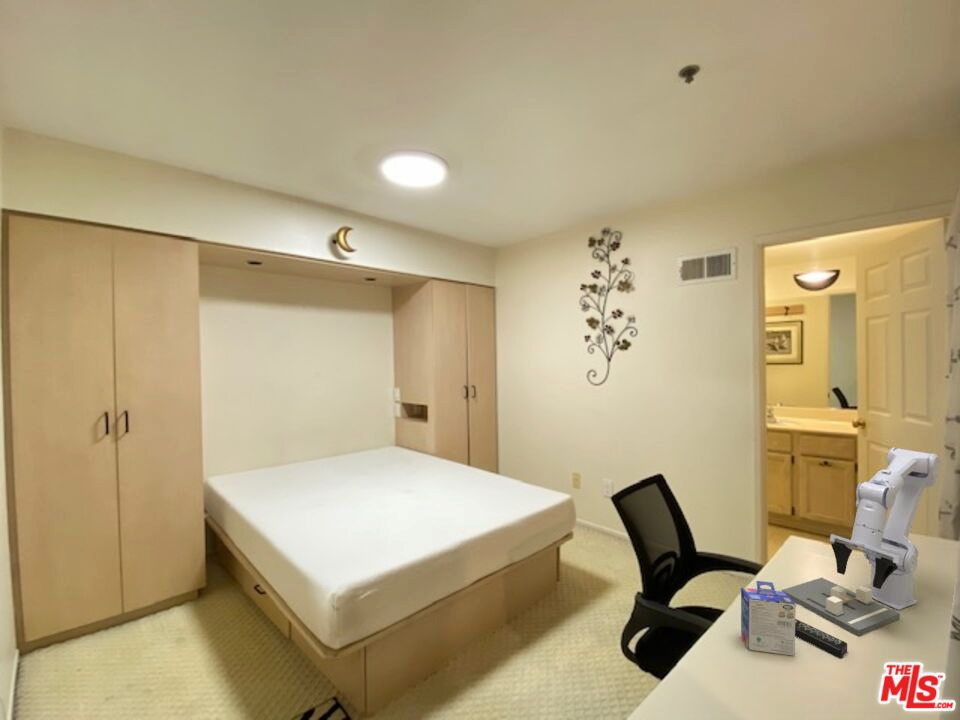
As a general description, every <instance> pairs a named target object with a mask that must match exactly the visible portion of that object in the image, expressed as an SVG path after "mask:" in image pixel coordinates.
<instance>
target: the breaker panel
mask: <svg viewBox="0 0 960 720" xmlns="http://www.w3.org/2000/svg"><path fill="white" fill-rule="evenodd" d="M836 586H839V587H841V588H844V589H846V601H848V603H845V604H842V612H844V614H842V615H839V616H836V615H834V614H832V613H830V612H828V611H826V610H824V608H826V598H829V597H831V588H833V587H836ZM781 591H783V592H785V593H786V594H787V595H788V596H789V597H790V598H791V599H792V600H793V601H794V602H795V604H796V605H799V606H801V607H803V608H805V609H806V610H807V611H810V612H812V613H814V614H816V615H818V616H819V617H821V618H823V619H825V620H827V621H828V622H831V623H833V624H834V625H836V626H837V627H840V628H842V629H844V630H846V631H847V632H849V633H851V634H853V635H855V636H856V637H860V636H863V635H865V634H867V633H870V632H873V631H875V630H877V629H880V628H882V627H884V626H886V625H887V626H888V625H889V624H891V623H894V622H896V621H899V620H900V619H901V613H900V612H898V611H895V610H893V609H891V608H889V607H887V606H886V605H884V604H883V605H882V604H880V603H879V602H876V601H875V600H874V601H873V600H872V601H873V602H874V603H871V604H868V605H866V604H864V603H862V602H860V601H858V600H856V599H854V598H855V597H856V591H853V590H850V589H849V588H846V587H843V586H841V585H839V584H838V583H835V582H833V581H830V580H828V579H826V578H824V577H818V578H816V579H812V580H809V581H806V582H803V583H800V584H797V585H794V586H790V587H787V588H784V589H781ZM862 634H863V635H862Z"/></svg>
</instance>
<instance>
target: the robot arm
mask: <svg viewBox="0 0 960 720" xmlns="http://www.w3.org/2000/svg"><path fill="white" fill-rule="evenodd" d="M886 461H887V464H888V466H887V468H886V469H884V468H883V469H881V470H879V471H877V472H876V473H875V474H874V475H873V476H872V477H871V478H870V480H868V481H864V482H860V483H859V484H858V485H857V488H856V491H855V494H856V501H855V507H857V509H856V513H855V518H854V524H853V528H852V534H851V536H850V537H851V538H850V539H848V538H845V537H842V536H838V535H837V534H834V533H833V534H830V537H829V542H831V548H832V550H833V555H834V557H835V563H836V573H838V574H841V575H843V576H844V575H845V574H846V571H847V570H846V569H847V566H848V562H849V558H850V556H851V554H852V553H853V550H856V551H857V552H858V551H859V552H862V553H863V556H864V557H865V559H866V560H867V561H868V564H869V565H871V566H870V567H871V569H870V589H871V590H872V599H873V600H874V601H878V602H880V603H882V604H883V605H885V606H888V607H891V608H892V609H893V608H894V609H895V610H897V611H898V610H899V611H900V610H903V609H905V608H907V607H910V606H912V605H915V604H918V600H917V599H914V577H913V574H914V572H915V571H916V570H917V567H918V557H919V551H918V548H917V546H916V545H915V544H914V543H913V542H912V541H910V539H909V535H910V533H911V529H912V526H913V523H914V520H915V517H916V514H917V511H918V507H919V505H920V501H921V499H922V496H923V494H924V492H925V491H926V488H929V487H934V486H935V483H936V482H937V480H938V477H939V474H940V471H941V459H940V456H938V454H936V453H929V452H921V451H915V450H909V449H903V448H898V447H892V448H890V449H889V450H888V453H887V458H886ZM889 510H890V512H889ZM888 513H889V515H888ZM860 548H861V549H860Z"/></svg>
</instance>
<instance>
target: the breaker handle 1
mask: <svg viewBox="0 0 960 720" xmlns="http://www.w3.org/2000/svg"><path fill="white" fill-rule="evenodd" d="M824 610H826V611H828V612H830V613H832V614H834V615H836V616H839V615H842V614H844V612H842V600H841V599H839V598H837V597H835V596H832V597H829V598H826V608H824Z"/></svg>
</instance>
